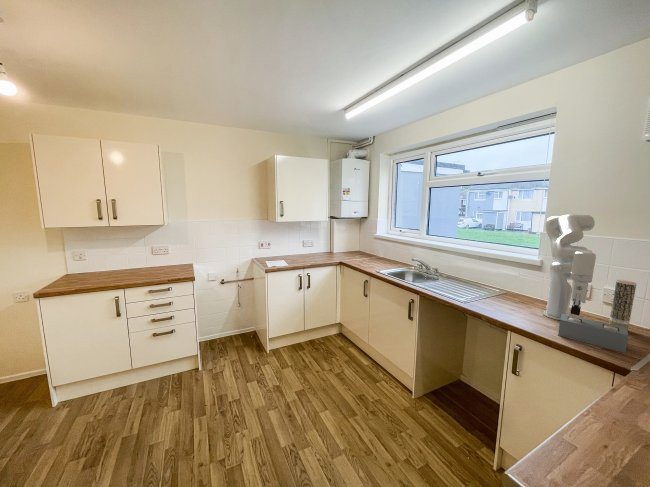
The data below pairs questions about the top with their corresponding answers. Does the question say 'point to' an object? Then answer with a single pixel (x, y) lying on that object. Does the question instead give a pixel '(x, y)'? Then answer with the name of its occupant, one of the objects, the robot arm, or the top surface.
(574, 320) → the peg inner
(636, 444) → the top surface
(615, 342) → the block
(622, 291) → the bark textured peg
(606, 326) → the peg outer
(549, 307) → the robot arm
